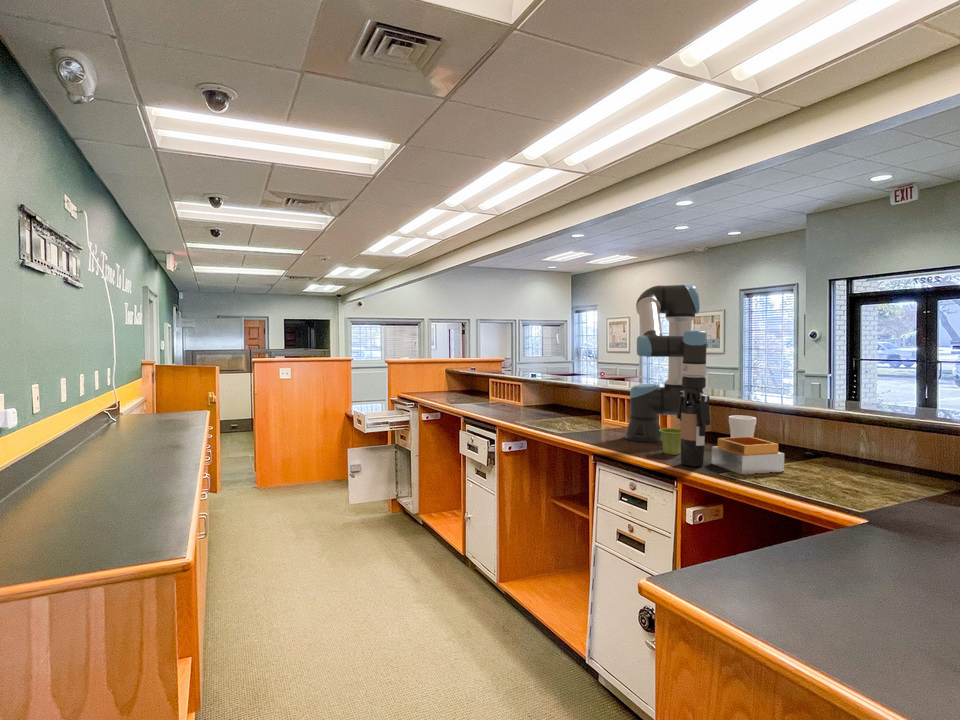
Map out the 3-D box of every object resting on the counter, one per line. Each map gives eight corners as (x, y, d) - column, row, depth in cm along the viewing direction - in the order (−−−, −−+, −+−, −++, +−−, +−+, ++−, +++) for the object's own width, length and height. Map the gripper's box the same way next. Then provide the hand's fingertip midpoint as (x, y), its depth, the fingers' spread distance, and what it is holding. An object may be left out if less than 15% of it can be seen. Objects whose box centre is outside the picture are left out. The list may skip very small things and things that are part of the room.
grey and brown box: (711, 463, 189) (712, 437, 189) (762, 460, 194) (763, 435, 194) (741, 474, 175) (742, 446, 174) (796, 470, 180) (797, 443, 179)
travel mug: (706, 466, 183) (707, 407, 182) (682, 465, 184) (683, 406, 183) (701, 461, 190) (703, 404, 189) (678, 460, 192) (679, 403, 191)
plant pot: (689, 456, 201) (689, 432, 200) (663, 456, 201) (663, 432, 200) (680, 450, 210) (680, 428, 210) (655, 450, 210) (656, 428, 210)
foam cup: (749, 448, 213) (750, 415, 213) (759, 454, 204) (760, 419, 203) (724, 448, 214) (725, 415, 214) (733, 453, 205) (733, 419, 204)
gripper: (666, 373, 194) (665, 437, 196) (703, 379, 175) (701, 449, 176) (685, 373, 196) (684, 436, 198) (723, 378, 176) (721, 448, 178)
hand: (692, 442), depth 187 cm, fingers closed on travel mug, 8 cm apart
